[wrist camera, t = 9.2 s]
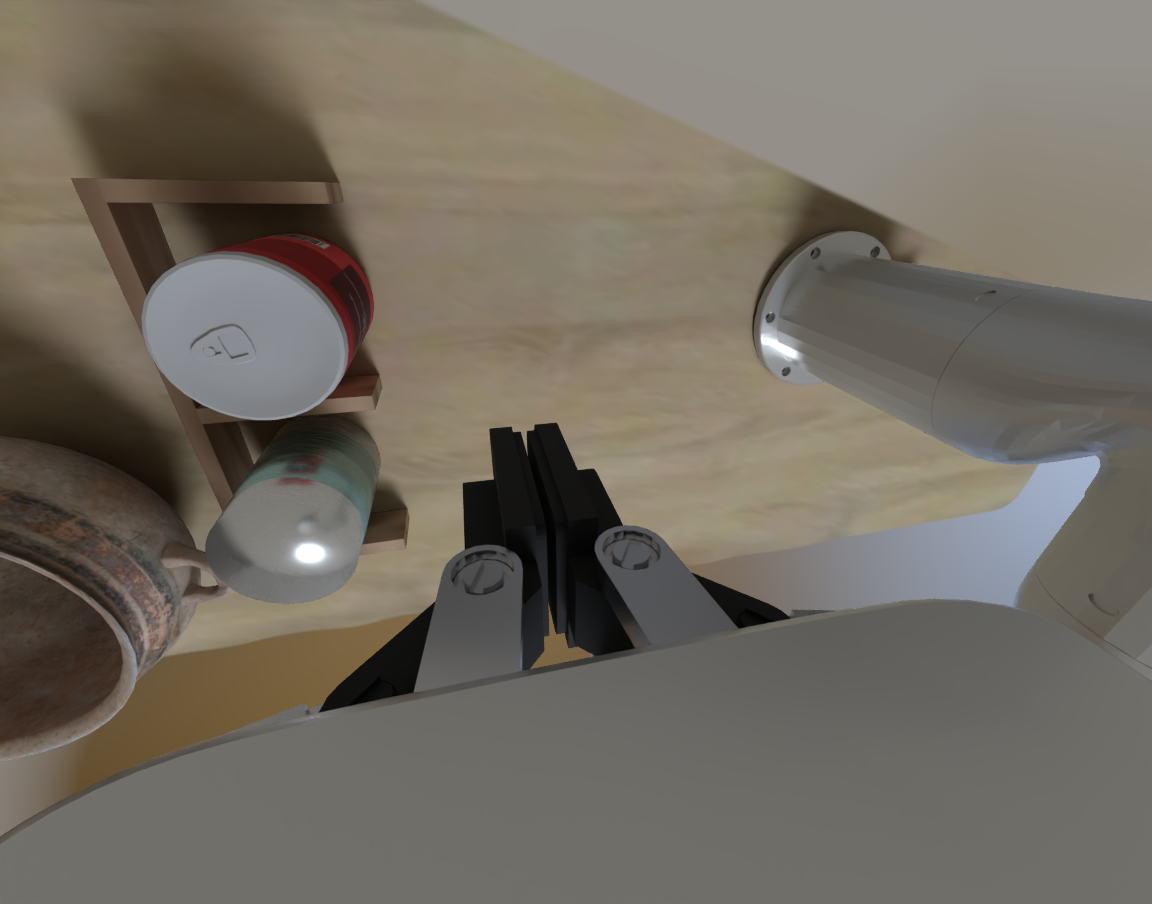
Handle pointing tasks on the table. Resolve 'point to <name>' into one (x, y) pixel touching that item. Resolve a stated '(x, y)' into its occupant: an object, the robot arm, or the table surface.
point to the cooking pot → (83, 591)
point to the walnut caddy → (146, 256)
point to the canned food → (259, 324)
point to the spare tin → (298, 513)
